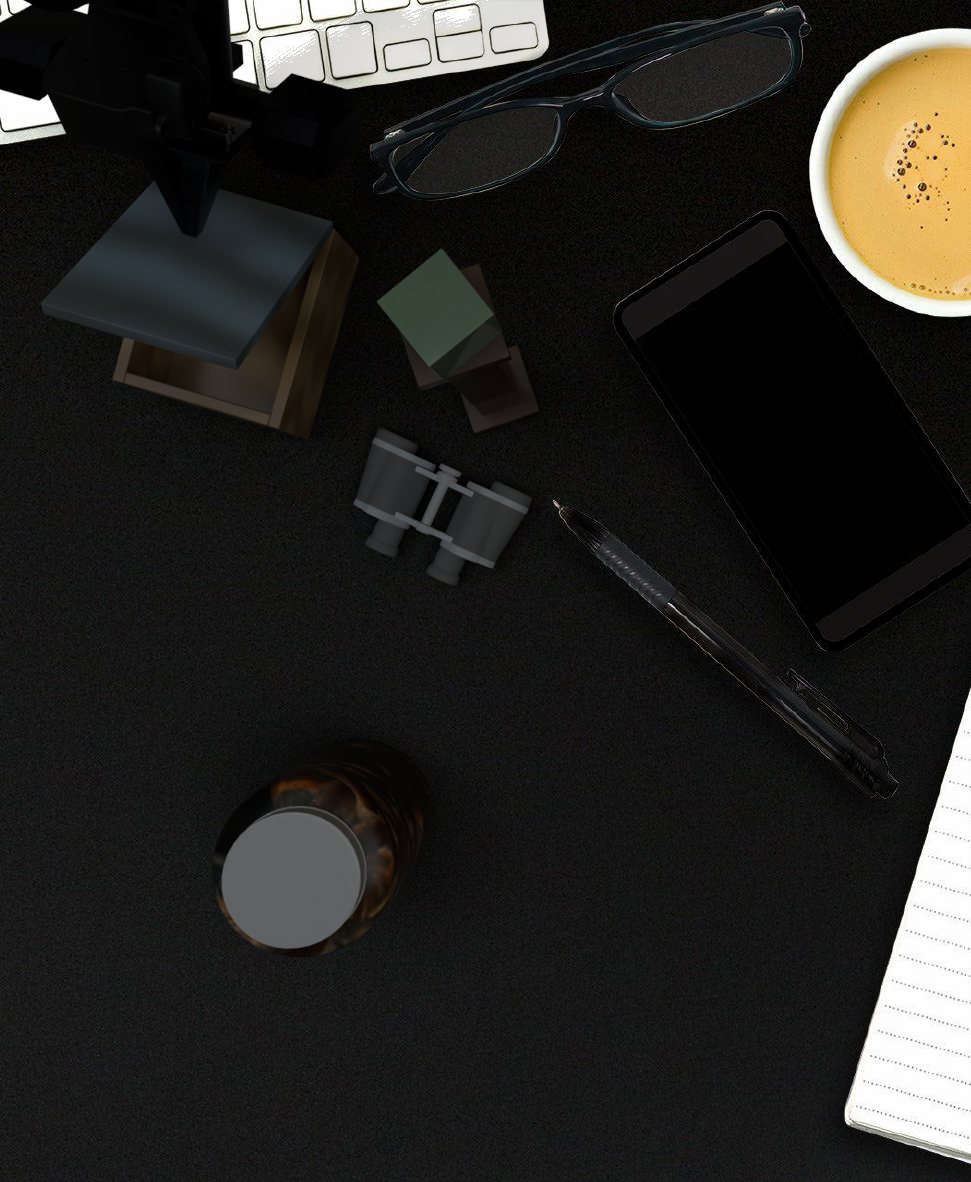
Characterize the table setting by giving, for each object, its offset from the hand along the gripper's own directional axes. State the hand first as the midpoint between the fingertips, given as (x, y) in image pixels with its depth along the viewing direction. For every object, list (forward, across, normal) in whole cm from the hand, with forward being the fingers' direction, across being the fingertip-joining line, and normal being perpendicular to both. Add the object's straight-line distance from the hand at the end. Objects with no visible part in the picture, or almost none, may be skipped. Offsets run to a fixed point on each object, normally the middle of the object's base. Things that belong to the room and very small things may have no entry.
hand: (193, 233), depth 63 cm
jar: (+35, +16, -15) cm, 41 cm away
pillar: (+11, +18, +8) cm, 23 cm away
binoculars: (+18, +16, +1) cm, 24 cm away
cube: (-4, +18, -8) cm, 20 cm away
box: (+11, 0, +8) cm, 14 cm away
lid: (+3, 0, 0) cm, 3 cm away
